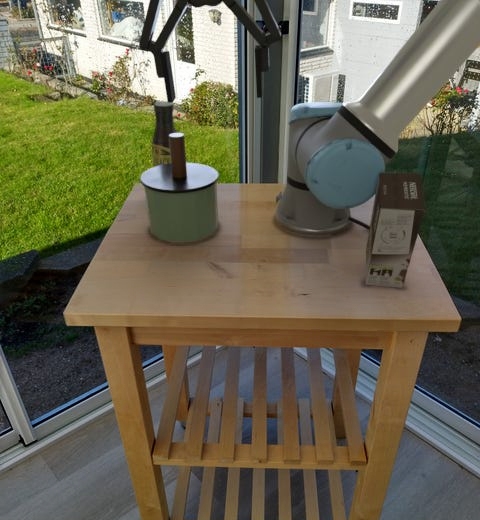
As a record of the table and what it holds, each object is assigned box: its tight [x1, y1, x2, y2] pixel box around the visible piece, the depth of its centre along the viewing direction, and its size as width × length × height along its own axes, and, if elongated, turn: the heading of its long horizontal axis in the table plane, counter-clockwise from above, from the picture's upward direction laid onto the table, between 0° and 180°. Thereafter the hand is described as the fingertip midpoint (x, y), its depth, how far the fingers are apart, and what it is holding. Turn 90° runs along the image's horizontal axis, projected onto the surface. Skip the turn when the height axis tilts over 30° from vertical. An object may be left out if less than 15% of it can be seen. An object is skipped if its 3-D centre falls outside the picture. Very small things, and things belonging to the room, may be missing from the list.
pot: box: [144, 181, 219, 243], centre depth 98 cm, size 14×14×10 cm
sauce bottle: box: [151, 100, 178, 168], centre depth 110 cm, size 7×6×20 cm
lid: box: [139, 132, 219, 193], centre depth 92 cm, size 15×15×9 cm
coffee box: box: [365, 172, 426, 289], centre depth 79 cm, size 9×6×16 cm
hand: (215, 98), depth 76 cm, fingers open, 13 cm apart
